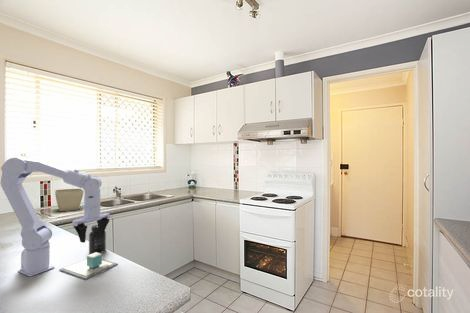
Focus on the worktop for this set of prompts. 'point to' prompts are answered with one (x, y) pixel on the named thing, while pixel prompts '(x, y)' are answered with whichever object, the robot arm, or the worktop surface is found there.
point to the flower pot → (68, 199)
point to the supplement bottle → (96, 241)
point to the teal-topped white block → (94, 260)
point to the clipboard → (87, 269)
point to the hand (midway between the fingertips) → (92, 239)
